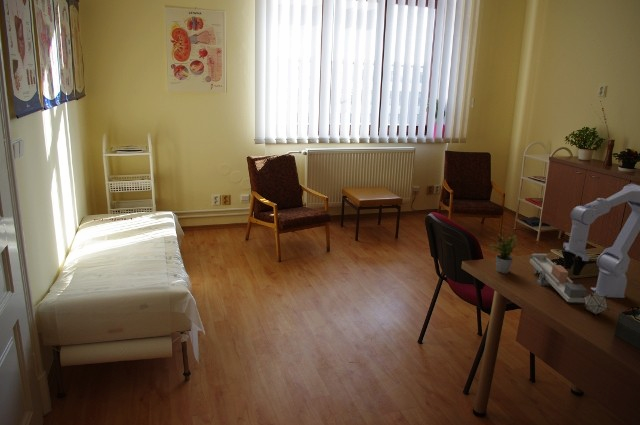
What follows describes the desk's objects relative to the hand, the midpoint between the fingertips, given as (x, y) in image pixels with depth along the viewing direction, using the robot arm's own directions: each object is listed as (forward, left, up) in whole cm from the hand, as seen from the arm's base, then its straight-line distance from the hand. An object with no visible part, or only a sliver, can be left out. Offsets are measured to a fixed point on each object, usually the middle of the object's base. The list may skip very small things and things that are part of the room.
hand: (571, 271), depth 188 cm
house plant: (+15, -26, -11) cm, 32 cm away
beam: (0, -10, -8) cm, 12 cm away
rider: (0, -8, -6) cm, 10 cm away
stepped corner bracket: (0, -9, -10) cm, 14 cm away
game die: (-3, +13, -11) cm, 17 cm away
